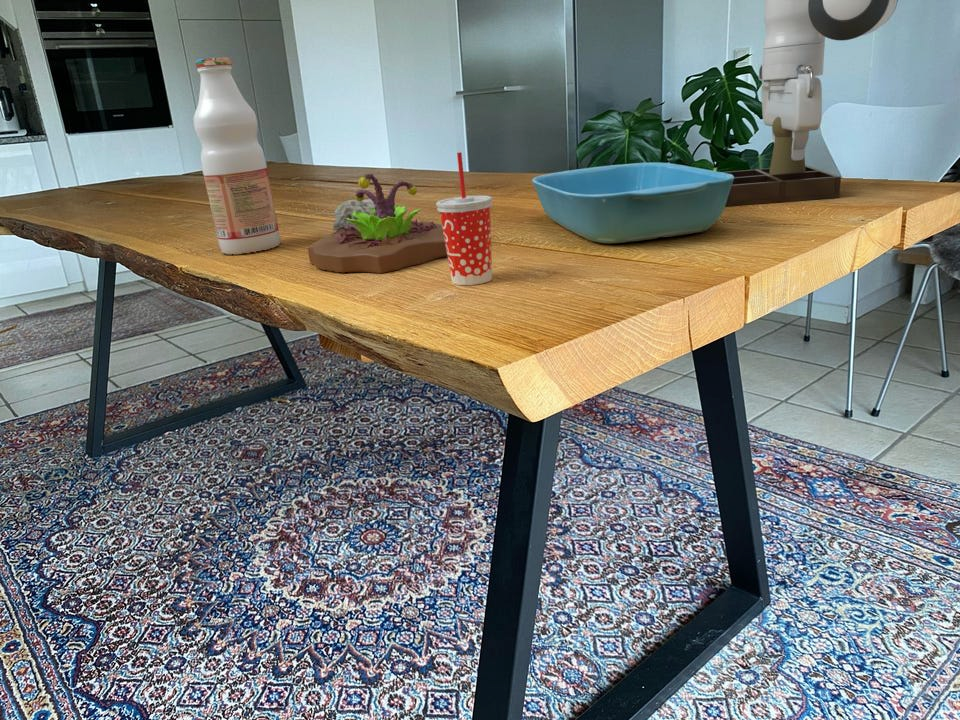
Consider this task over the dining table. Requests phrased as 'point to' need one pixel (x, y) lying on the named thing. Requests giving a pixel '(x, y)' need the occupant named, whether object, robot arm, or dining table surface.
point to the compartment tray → (781, 186)
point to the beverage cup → (467, 235)
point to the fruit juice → (233, 163)
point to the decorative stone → (351, 212)
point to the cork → (783, 151)
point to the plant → (379, 237)
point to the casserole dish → (634, 200)
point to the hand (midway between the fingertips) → (788, 157)
